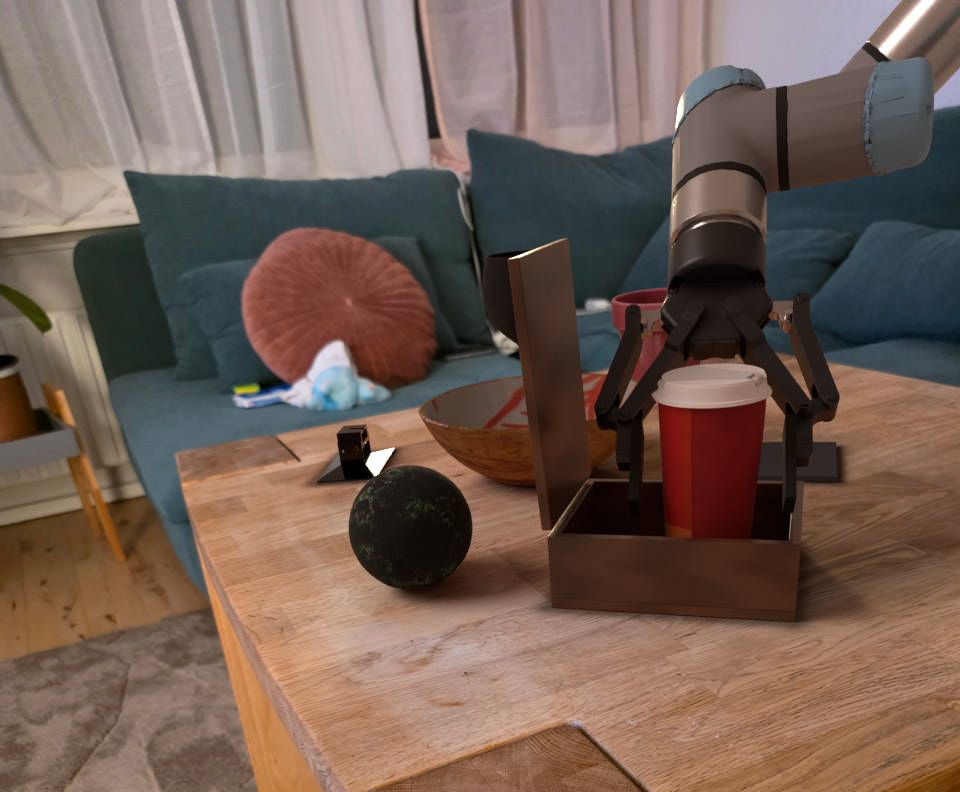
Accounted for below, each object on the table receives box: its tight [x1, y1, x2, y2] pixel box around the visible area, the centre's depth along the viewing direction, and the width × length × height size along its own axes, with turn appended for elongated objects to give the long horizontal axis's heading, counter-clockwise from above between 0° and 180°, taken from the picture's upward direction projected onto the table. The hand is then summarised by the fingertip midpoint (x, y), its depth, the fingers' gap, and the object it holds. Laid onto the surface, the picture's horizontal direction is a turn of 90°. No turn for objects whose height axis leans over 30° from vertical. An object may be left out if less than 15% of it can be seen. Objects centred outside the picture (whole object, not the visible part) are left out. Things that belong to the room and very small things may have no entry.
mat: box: [757, 441, 839, 483], centre depth 94 cm, size 12×12×1 cm
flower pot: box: [611, 287, 702, 381], centre depth 126 cm, size 14×14×13 cm
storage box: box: [546, 478, 805, 622], centre depth 70 cm, size 18×14×6 cm
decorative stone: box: [348, 464, 474, 591], centre depth 72 cm, size 10×10×10 cm
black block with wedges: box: [315, 424, 396, 485], centre depth 107 cm, size 12×7×5 cm, turn 175°
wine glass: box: [482, 249, 532, 348], centre depth 124 cm, size 10×10×20 cm
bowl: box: [417, 372, 639, 487], centre depth 97 cm, size 25×25×8 cm
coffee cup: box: [651, 363, 772, 539], centre depth 66 cm, size 8×8×15 cm
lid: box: [508, 237, 592, 532], centre depth 67 cm, size 19×14×1 cm
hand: (710, 506), depth 64 cm, fingers open, 10 cm apart
